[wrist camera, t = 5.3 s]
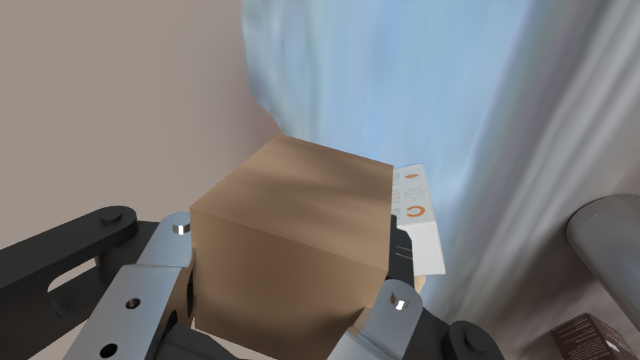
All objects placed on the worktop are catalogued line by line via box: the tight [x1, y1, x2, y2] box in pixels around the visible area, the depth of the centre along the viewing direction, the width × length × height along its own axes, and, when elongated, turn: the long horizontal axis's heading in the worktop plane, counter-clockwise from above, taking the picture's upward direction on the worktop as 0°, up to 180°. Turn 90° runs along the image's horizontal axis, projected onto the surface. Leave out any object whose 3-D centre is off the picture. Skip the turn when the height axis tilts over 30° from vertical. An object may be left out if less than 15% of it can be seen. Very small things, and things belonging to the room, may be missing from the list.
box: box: [551, 313, 639, 360], centre depth 38 cm, size 6×6×7 cm
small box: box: [391, 164, 446, 276], centre depth 33 cm, size 8×6×13 cm
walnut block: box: [190, 134, 393, 360], centre depth 11 cm, size 5×5×6 cm
